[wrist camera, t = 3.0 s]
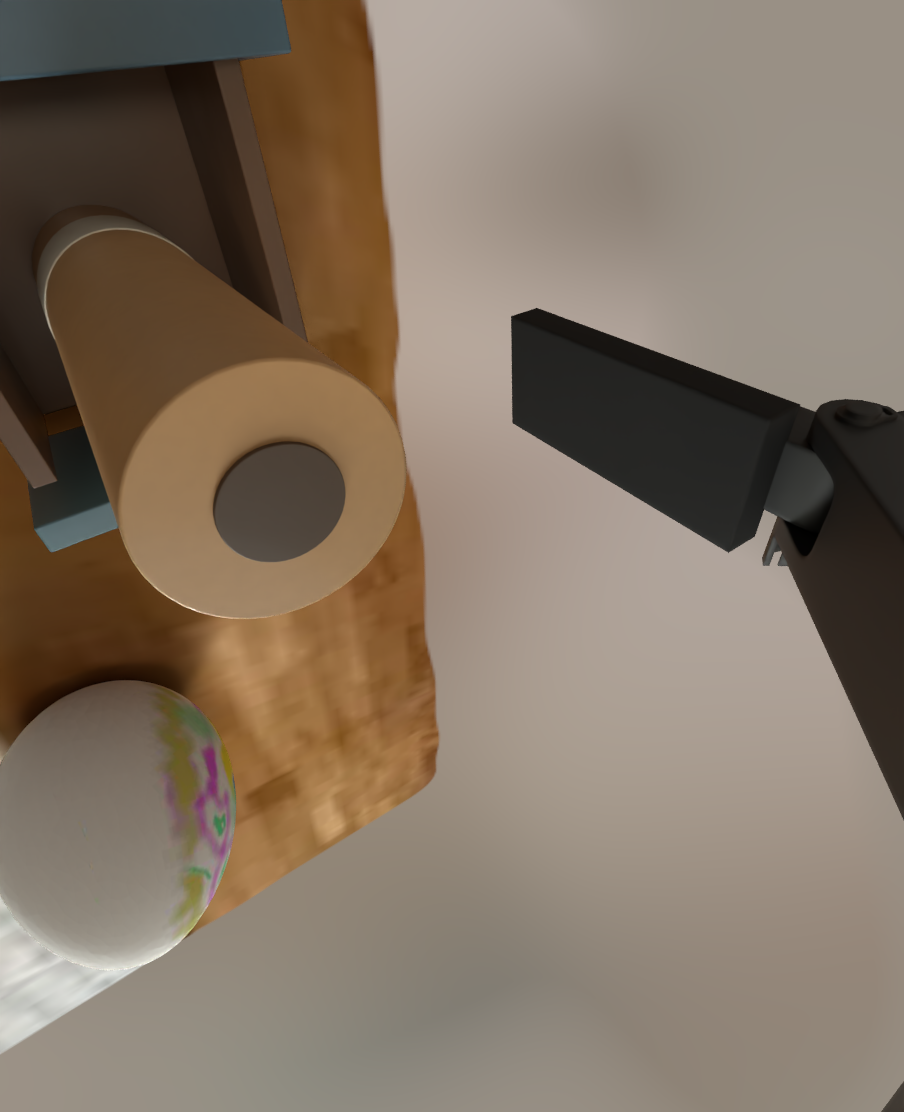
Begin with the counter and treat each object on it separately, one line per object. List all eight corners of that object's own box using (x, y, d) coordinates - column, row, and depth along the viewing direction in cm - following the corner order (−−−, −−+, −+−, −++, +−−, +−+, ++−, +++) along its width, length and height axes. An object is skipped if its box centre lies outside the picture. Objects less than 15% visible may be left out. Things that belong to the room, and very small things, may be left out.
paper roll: (137, 369, 26) (308, 651, 13) (0, 286, 22) (41, 572, 9) (204, 271, 25) (458, 459, 12) (78, 168, 21) (247, 279, 8)
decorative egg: (196, 766, 44) (261, 959, 34) (-9, 820, 36) (-3, 1089, 26) (213, 640, 38) (295, 826, 29) (-24, 672, 31) (-24, 940, 21)
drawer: (307, 454, 34) (366, 517, 29) (83, 538, 29) (106, 630, 24) (184, 21, 22) (250, -4, 16) (-237, 49, 17) (-328, 27, 12)
